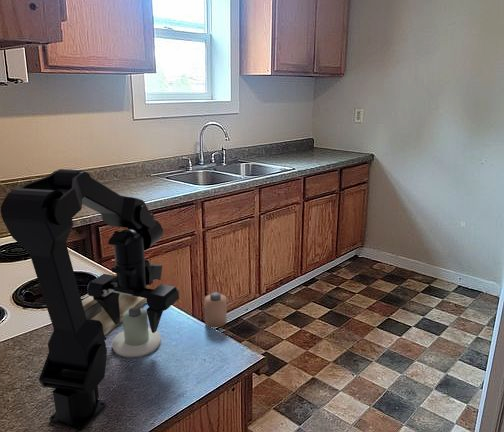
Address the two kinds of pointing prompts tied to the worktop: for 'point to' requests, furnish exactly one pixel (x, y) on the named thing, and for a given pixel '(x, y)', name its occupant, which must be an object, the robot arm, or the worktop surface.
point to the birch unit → (98, 313)
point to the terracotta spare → (215, 310)
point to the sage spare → (135, 326)
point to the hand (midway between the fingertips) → (135, 327)
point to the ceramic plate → (139, 350)
